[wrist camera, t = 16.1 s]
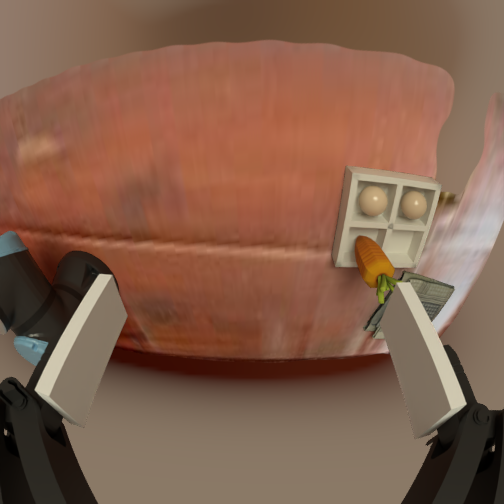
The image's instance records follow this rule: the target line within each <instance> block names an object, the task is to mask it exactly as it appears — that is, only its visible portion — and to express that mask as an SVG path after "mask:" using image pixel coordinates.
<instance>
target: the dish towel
mask: <svg viewBox="0 0 504 504" xmlns="http://www.w3.org/2000/svg"><path fill="white" fill-rule="evenodd" d="M403 273H404V274H403V275H402V277H401V278H400V279H398V280H400V281H402V282H410V283H411V285H412V287H413V289H414V291H415V292H416V294H417V296H418V298H419V300H420V301H421V303H422V305H423V307H424V309H425V311H426V313H427V315H428V317H429V319H430V321H431V322H432V321H433V320H434V319H435V317H436V316H437V315H438V314H439V312H440V311H441V309H442V308H443V307H444V305H445V304H446V302H447V301H448V299H449V298H450V296H451V295H452V293H453V292H454V290H455V289H454V286H451V285H448V284H445V283H442V282H439V281H437V280H434V279H431V278H428V277H425V276H421V275H418V274H415V273H410V272H406V271H403ZM393 287H394V288H395V285H394V286H393ZM392 293H393V292H392V291H391V290H390V292H389V293H388V294H387V296H386V297H385V299H386V300H385V301H384V303H383V304H380V305H379V307H378V308H377V309H376V311H375V312H374V313H373V315H372V316H371V318H372V320H371V321H368V322H367V323H369V324H368V325H367V326H364V327H363V329H364V331H376V332H375V333H374V335H373V336H372V337H373V338H374V339H385V337H384V334H383V332H382V329H381V326H380V321H381V319H382V317H383V314H384V312H385V310H386V307H387V305H388V303H389V300H390V298H391V295H392ZM371 318H370V319H371Z"/></svg>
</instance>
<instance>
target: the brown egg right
mask: <svg viewBox="0 0 504 504" xmlns="http://www.w3.org/2000/svg"><path fill="white" fill-rule="evenodd" d="M400 207H401V210H402V212H403V214H404V215H405V216H406V217H408V218H410V219H419V218H421V217H422V216H423V215H424V214H425V212H426V210H427V202H426V199H425V197H424V196H423V195H422V194H421V193H420V192H418V191H408V192H406V193H405V194H404V195H403V196H402V198H401V202H400Z"/></svg>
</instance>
